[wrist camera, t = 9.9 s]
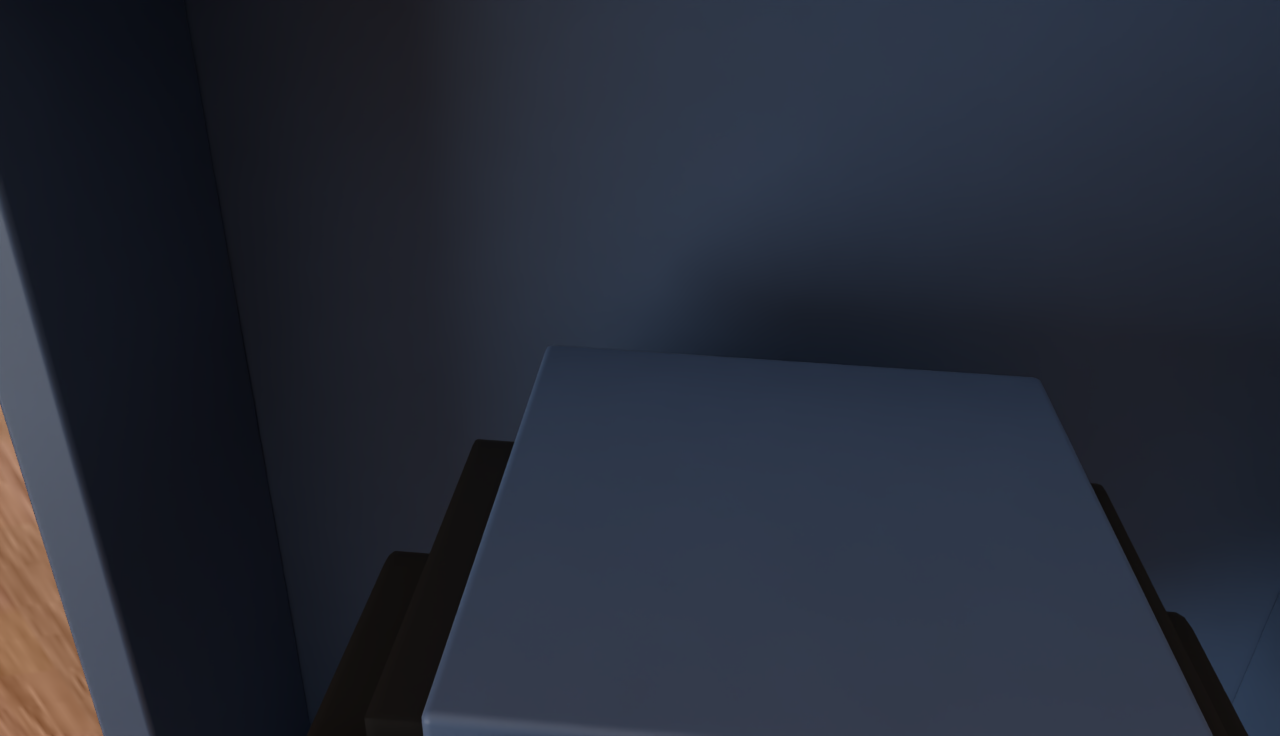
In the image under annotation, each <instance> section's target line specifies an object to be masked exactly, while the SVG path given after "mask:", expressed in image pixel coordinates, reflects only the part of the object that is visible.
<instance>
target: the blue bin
mask: <svg viewBox="0 0 1280 736" xmlns="http://www.w3.org/2000/svg"><path fill="white" fill-rule="evenodd" d="M553 345H557V346H572V347H587V348H602V349H617V350H632V351H647V352H662V353H677V354H692V355H707V356H722V357H737V358H752V359H767V360H782V361H797V362H812V363H827V364H842V365H857V366H872V367H887V368H902V369H917V370H932V371H948V372H963V373H978V374H993V375H1008V376H1023V377H1034V378H1037V379H1039V380H1040V381H1041V383H1042V385H1043V387H1044V389H1045V391H1046V393H1047V395H1048V397H1049V399H1050V401H1051V403H1052V405H1053V408H1054V410H1055V412H1056V414H1057V416H1058V418H1059V420H1060V422H1061V424H1062V426H1063V428H1064V430H1065V432H1066V434H1067V436H1068V438H1069V440H1070V443H1071V445H1072V447H1073V449H1074V451H1075V453H1076V455H1077V457H1078V459H1079V461H1080V463H1081V465H1082V467H1083V469H1084V471H1085V473H1086V475H1087V478H1088V480H1089V482H1090V483H1097V484H1100V485H1102V486H1103V488H1104V489H1105V491H1106V492H1107V494H1108V496H1109V498H1110V500H1111V502H1112V504H1113V506H1114V508H1115V510H1116V512H1117V514H1118V516H1119V518H1120V520H1121V522H1122V524H1123V526H1124V528H1125V530H1126V532H1127V534H1128V536H1129V538H1130V540H1131V542H1132V544H1133V546H1134V548H1135V550H1136V552H1137V554H1138V556H1139V558H1140V560H1141V562H1142V564H1143V566H1144V568H1145V570H1146V572H1147V574H1148V576H1149V578H1150V580H1151V582H1152V584H1153V586H1154V588H1155V590H1156V592H1157V594H1158V596H1159V598H1160V600H1161V602H1162V604H1163V606H1164V608H1165V610H1166V611H1169V612H1177V613H1178V614H1180V615H1182V616H1183V617H1185V619H1186V620H1187V621H1188V623H1189V624H1190V626H1191V627H1192V629H1193V630H1194V632H1195V634H1196V636H1197V638H1198V640H1199V642H1200V644H1201V646H1202V648H1203V650H1204V652H1205V653H1206V655H1207V657H1208V659H1209V661H1210V663H1211V665H1212V667H1213V669H1214V671H1215V673H1216V675H1217V676H1218V678H1219V680H1220V682H1221V684H1222V686H1223V688H1224V690H1225V692H1226V694H1227V696H1228V698H1229V699H1230V701H1231V703H1232V705H1233V707H1234V709H1235V711H1236V713H1237V715H1238V717H1239V719H1240V721H1241V722H1242V724H1243V726H1244V728H1245V730H1246V732H1247V734H1248V736H1280V0H0V405H1V408H2V411H3V414H4V417H5V421H6V424H7V427H8V430H9V433H10V437H11V440H12V443H13V446H14V450H15V453H16V456H17V459H18V462H19V466H20V469H21V472H22V475H23V478H24V482H25V485H26V488H27V491H28V495H29V498H30V501H31V504H32V507H33V511H34V514H35V517H36V520H37V523H38V527H39V530H40V533H41V536H42V540H43V543H44V546H45V549H46V552H47V556H48V559H49V562H50V565H51V568H52V572H53V575H54V578H55V581H56V585H57V588H58V591H59V594H60V597H61V601H62V604H63V607H64V610H65V613H66V617H67V620H68V623H69V626H70V630H71V633H72V636H73V639H74V642H75V646H76V649H77V652H78V655H79V658H80V662H81V665H82V668H83V671H84V675H85V678H86V681H87V684H88V687H89V691H90V694H91V697H92V700H93V703H94V707H95V710H96V713H97V716H98V720H99V723H100V726H101V729H102V732H103V736H307V734H308V732H309V729H310V727H311V725H312V723H313V721H314V718H315V716H316V714H317V712H318V709H319V707H320V705H321V703H322V701H323V698H324V696H325V694H326V692H327V689H328V687H329V685H330V683H331V681H332V678H333V676H334V674H335V672H336V669H337V667H338V665H339V663H340V661H341V658H342V656H343V654H344V652H345V649H346V647H347V645H348V643H349V641H350V638H351V636H352V634H353V632H354V629H355V627H356V625H357V623H358V621H359V618H360V616H361V614H362V612H363V609H364V607H365V605H366V603H367V601H368V598H369V596H370V594H371V592H372V589H373V587H374V585H375V583H376V581H377V578H378V576H379V574H380V572H381V569H382V567H383V565H384V563H385V561H386V560H387V558H388V556H389V555H390V554H391V553H392V552H394V551H404V552H417V553H430V551H431V549H432V546H433V544H434V541H435V539H436V536H437V534H438V531H439V529H440V526H441V524H442V521H443V519H444V516H445V514H446V511H447V509H448V506H449V504H450V501H451V499H452V496H453V494H454V491H455V489H456V486H457V484H458V481H459V478H460V476H461V473H462V471H463V468H464V466H465V463H466V461H467V458H468V456H469V453H470V451H471V448H472V446H473V444H474V442H475V440H477V439H485V440H499V441H513V442H515V439H516V436H517V433H518V431H519V428H520V425H521V422H522V419H523V416H524V413H525V410H526V407H527V404H528V401H529V398H530V395H531V392H532V389H533V386H534V383H535V380H536V377H537V374H538V371H539V369H540V366H541V363H542V360H543V357H544V354H545V351H546V349H547V347H549V346H553Z"/></svg>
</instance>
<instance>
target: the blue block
mask: <svg viewBox="0 0 1280 736" xmlns="http://www.w3.org/2000/svg"><path fill="white" fill-rule="evenodd" d="M422 727H423V736H1213V735H1212V733H1211V731H1210V729H1209V727H1208V724H1207V722H1206V720H1205V718H1204V716H1203V714H1202V712H1201V710H1200V708H1199V706H1198V704H1197V702H1196V700H1195V698H1194V696H1193V694H1192V692H1191V689H1190V687H1189V685H1188V683H1187V681H1186V679H1185V677H1184V675H1183V673H1182V671H1181V669H1180V667H1179V665H1178V663H1177V661H1176V659H1175V657H1174V654H1173V652H1172V650H1171V648H1170V646H1169V644H1168V642H1167V640H1166V638H1165V636H1164V634H1163V632H1162V630H1161V628H1160V626H1159V624H1158V622H1157V620H1156V617H1155V615H1154V613H1153V611H1152V609H1151V607H1150V605H1149V603H1148V601H1147V599H1146V597H1145V595H1144V593H1143V591H1142V589H1141V587H1140V585H1139V582H1138V580H1137V578H1136V576H1135V574H1134V572H1133V570H1132V568H1131V566H1130V564H1129V562H1128V560H1127V558H1126V556H1125V554H1124V552H1123V550H1122V547H1121V545H1120V543H1119V541H1118V539H1117V537H1116V535H1115V533H1114V531H1113V529H1112V527H1111V525H1110V523H1109V521H1108V519H1107V517H1106V515H1105V512H1104V510H1103V508H1102V506H1101V504H1100V502H1099V500H1098V498H1097V496H1096V494H1095V492H1094V490H1093V488H1092V486H1091V484H1090V482H1089V480H1088V478H1087V475H1086V473H1085V471H1084V469H1083V467H1082V465H1081V463H1080V461H1079V459H1078V457H1077V455H1076V453H1075V451H1074V449H1073V447H1072V445H1071V443H1070V440H1069V438H1068V436H1067V434H1066V432H1065V430H1064V428H1063V426H1062V424H1061V422H1060V420H1059V418H1058V416H1057V414H1056V412H1055V410H1054V408H1053V405H1052V403H1051V401H1050V399H1049V397H1048V395H1047V393H1046V391H1045V389H1044V387H1043V385H1042V383H1041V381H1040V380H1039V379H1037V378H1034V377H1023V376H1008V375H993V374H978V373H963V372H948V371H932V370H917V369H902V368H887V367H872V366H857V365H842V364H827V363H812V362H797V361H782V360H767V359H752V358H737V357H722V356H707V355H692V354H677V353H662V352H647V351H632V350H617V349H602V348H587V347H572V346H557V345H553V346H549V347H547V349H546V351H545V354H544V357H543V360H542V363H541V366H540V369H539V371H538V374H537V377H536V380H535V383H534V386H533V389H532V392H531V395H530V398H529V401H528V404H527V407H526V410H525V413H524V416H523V419H522V422H521V425H520V428H519V431H518V433H517V436H516V439H515V442H514V445H513V448H512V451H511V454H510V457H509V460H508V463H507V466H506V469H505V472H504V475H503V478H502V481H501V484H500V487H499V490H498V493H497V496H496V498H495V501H494V504H493V507H492V510H491V513H490V516H489V519H488V522H487V525H486V528H485V531H484V534H483V537H482V540H481V543H480V546H479V549H478V552H477V555H476V558H475V560H474V563H473V566H472V569H471V572H470V575H469V578H468V581H467V584H466V587H465V590H464V593H463V596H462V599H461V602H460V605H459V608H458V611H457V614H456V617H455V620H454V623H453V625H452V628H451V631H450V634H449V637H448V640H447V643H446V646H445V649H444V652H443V655H442V658H441V661H440V664H439V667H438V670H437V673H436V676H435V679H434V682H433V685H432V687H431V690H430V693H429V696H428V699H427V702H426V705H425V708H424V711H423V714H422Z"/></svg>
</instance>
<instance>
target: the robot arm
mask: <svg viewBox="0 0 1280 736" xmlns="http://www.w3.org/2000/svg"><path fill="white" fill-rule="evenodd" d="M513 445H514V442H513V441H499V440H485V439H477V440H475V442H474V444H473V446H472V448H471V451H470V453H469V456H468V458H467V461H466V463H465V466H464V468H463V471H462V473H461V476H460V478H459V481H458V484H457V486H456V489H455V491H454V494H453V496H452V499H451V501H450V504H449V506H448V509H447V511H446V514H445V516H444V519H443V521H442V524H441V526H440V529H439V531H438V534H437V536H436V539H435V541H434V544H433V546H432V549H431V551H430V553H417V552H404V551H394V552H392V553H391V554H390V555H389V556H388V558H387V560H386V561H385V563H384V565H383V567H382V569H381V572H380V574H379V576H378V578H377V581H376V583H375V585H374V587H373V589H372V592H371V594H370V596H369V598H368V601H367V603H366V605H365V607H364V609H363V612H362V614H361V616H360V618H359V621H358V623H357V625H356V627H355V629H354V632H353V634H352V636H351V638H350V641H349V643H348V645H347V647H346V649H345V652H344V654H343V656H342V658H341V661H340V663H339V665H338V667H337V669H336V672H335V674H334V676H333V678H332V681H331V683H330V685H329V687H328V689H327V692H326V694H325V696H324V698H323V701H322V703H321V705H320V707H319V709H318V712H317V714H316V716H315V718H314V721H313V723H312V725H311V727H310V729H309V732H308V734H307V736H423V727H422V714H423V711H424V708H425V705H426V702H427V699H428V696H429V693H430V690H431V687H432V685H433V682H434V679H435V676H436V673H437V670H438V667H439V664H440V661H441V658H442V655H443V652H444V649H445V646H446V643H447V640H448V637H449V634H450V631H451V628H452V625H453V623H454V620H455V617H456V614H457V611H458V608H459V605H460V602H461V599H462V596H463V593H464V590H465V587H466V584H467V581H468V578H469V575H470V572H471V569H472V566H473V563H474V560H475V558H476V555H477V552H478V549H479V546H480V543H481V540H482V537H483V534H484V531H485V528H486V525H487V522H488V519H489V516H490V513H491V510H492V507H493V504H494V501H495V498H496V496H497V493H498V490H499V487H500V484H501V481H502V478H503V475H504V472H505V469H506V466H507V463H508V460H509V457H510V454H511V451H512V448H513ZM1090 484H1091V486H1092V488H1093V490H1094V492H1095V494H1096V496H1097V498H1098V500H1099V502H1100V504H1101V506H1102V508H1103V510H1104V512H1105V515H1106V517H1107V519H1108V521H1109V523H1110V525H1111V527H1112V529H1113V531H1114V533H1115V535H1116V537H1117V539H1118V541H1119V543H1120V545H1121V547H1122V550H1123V552H1124V554H1125V556H1126V558H1127V560H1128V562H1129V564H1130V566H1131V568H1132V570H1133V572H1134V574H1135V576H1136V578H1137V580H1138V582H1139V585H1140V587H1141V589H1142V591H1143V593H1144V595H1145V597H1146V599H1147V601H1148V603H1149V605H1150V607H1151V609H1152V611H1153V613H1154V615H1155V617H1156V620H1157V622H1158V624H1159V626H1160V628H1161V630H1162V632H1163V634H1164V636H1165V638H1166V640H1167V642H1168V644H1169V646H1170V648H1171V650H1172V652H1173V654H1174V657H1175V659H1176V661H1177V663H1178V665H1179V667H1180V669H1181V671H1182V673H1183V675H1184V677H1185V679H1186V681H1187V683H1188V685H1189V687H1190V689H1191V692H1192V694H1193V696H1194V698H1195V700H1196V702H1197V704H1198V706H1199V708H1200V710H1201V712H1202V714H1203V716H1204V718H1205V720H1206V722H1207V724H1208V727H1209V729H1210V731H1211V733H1212V735H1213V736H1248V734H1247V732H1246V730H1245V728H1244V726H1243V724H1242V722H1241V721H1240V719H1239V717H1238V715H1237V713H1236V711H1235V709H1234V707H1233V705H1232V703H1231V701H1230V699H1229V698H1228V696H1227V694H1226V692H1225V690H1224V688H1223V686H1222V684H1221V682H1220V680H1219V678H1218V676H1217V675H1216V673H1215V671H1214V669H1213V667H1212V665H1211V663H1210V661H1209V659H1208V657H1207V655H1206V653H1205V652H1204V650H1203V648H1202V646H1201V644H1200V642H1199V640H1198V638H1197V636H1196V634H1195V632H1194V630H1193V629H1192V627H1191V626H1190V624H1189V623H1188V621H1187V620H1186V619H1185V617H1183V616H1182V615H1180V614H1178V613H1177V612H1169V611H1166V610H1165V608H1164V606H1163V604H1162V602H1161V600H1160V598H1159V596H1158V594H1157V592H1156V590H1155V588H1154V586H1153V584H1152V582H1151V580H1150V578H1149V576H1148V574H1147V572H1146V570H1145V568H1144V566H1143V564H1142V562H1141V560H1140V558H1139V556H1138V554H1137V552H1136V550H1135V548H1134V546H1133V544H1132V542H1131V540H1130V538H1129V536H1128V534H1127V532H1126V530H1125V528H1124V526H1123V524H1122V522H1121V520H1120V518H1119V516H1118V514H1117V512H1116V510H1115V508H1114V506H1113V504H1112V502H1111V500H1110V498H1109V496H1108V494H1107V492H1106V491H1105V489H1104V488H1103V486H1102V485H1100V484H1097V483H1090Z"/></svg>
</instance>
